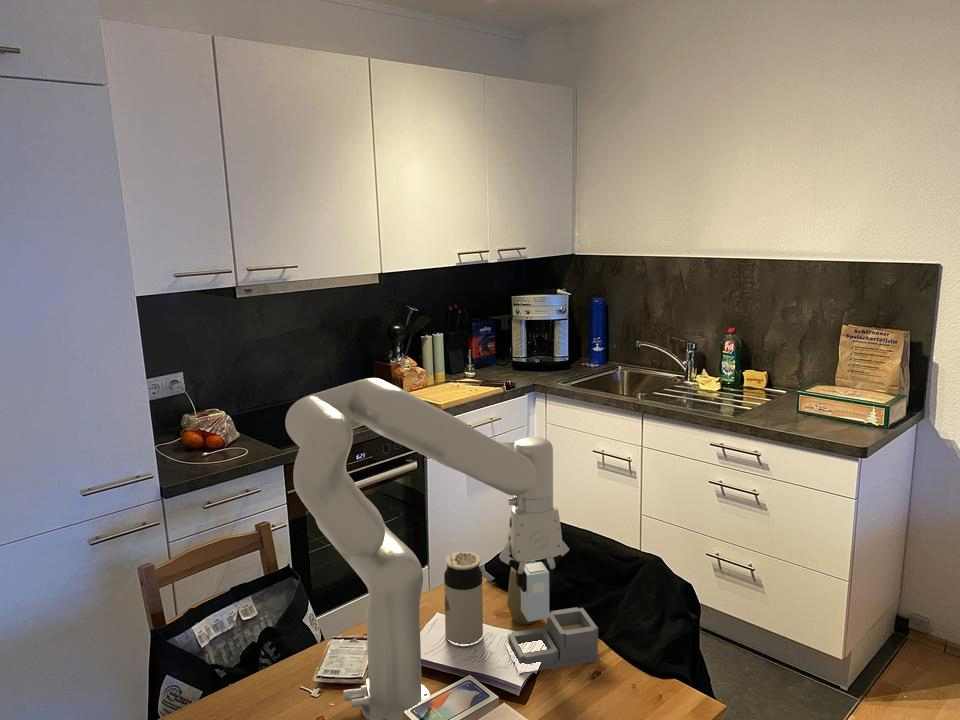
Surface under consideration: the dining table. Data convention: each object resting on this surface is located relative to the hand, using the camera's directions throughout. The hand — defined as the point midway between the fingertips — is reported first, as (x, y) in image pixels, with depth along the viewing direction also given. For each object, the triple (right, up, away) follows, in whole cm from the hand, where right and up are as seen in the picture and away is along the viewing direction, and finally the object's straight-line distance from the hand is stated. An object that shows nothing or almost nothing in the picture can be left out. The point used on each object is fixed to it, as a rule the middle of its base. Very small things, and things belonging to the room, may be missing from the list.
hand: (534, 585), depth 142 cm
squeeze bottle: (-1, -13, +17) cm, 21 cm away
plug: (0, -6, +1) cm, 6 cm away
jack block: (+4, -15, +4) cm, 16 cm away
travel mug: (-14, -14, +9) cm, 22 cm away
